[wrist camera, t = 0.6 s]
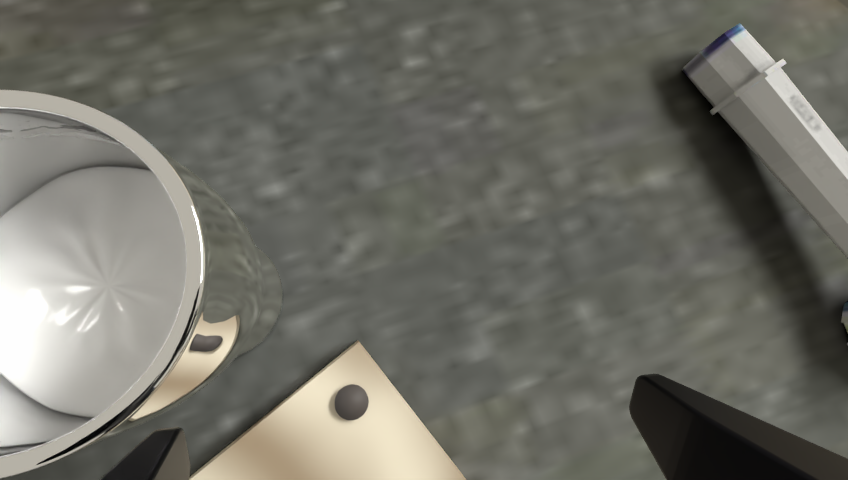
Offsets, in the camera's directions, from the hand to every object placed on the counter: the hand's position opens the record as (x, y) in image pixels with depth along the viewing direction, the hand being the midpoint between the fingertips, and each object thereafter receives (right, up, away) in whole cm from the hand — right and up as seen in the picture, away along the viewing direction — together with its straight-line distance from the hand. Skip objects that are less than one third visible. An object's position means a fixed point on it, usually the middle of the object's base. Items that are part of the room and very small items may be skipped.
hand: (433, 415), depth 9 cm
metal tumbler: (-10, +1, +13) cm, 17 cm away
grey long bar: (+25, +5, +22) cm, 34 cm away
